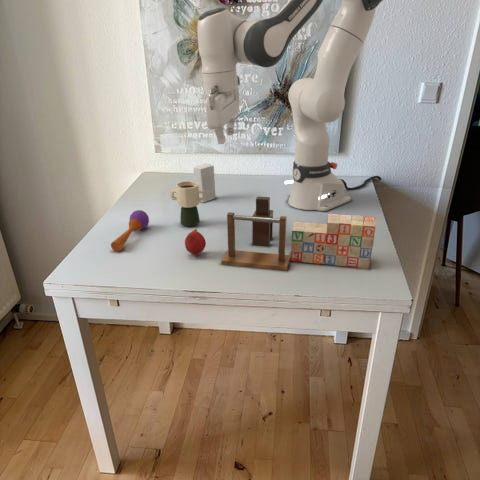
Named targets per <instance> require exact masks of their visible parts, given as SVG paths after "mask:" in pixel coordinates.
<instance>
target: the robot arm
mask: <svg viewBox="0 0 480 480" xmlns="http://www.w3.org/2000/svg"><path fill="white" fill-rule="evenodd" d="M324 1H325V0H288V1H287V2H286V3H285V4H284V5H283V7H282V8H281V9H280V10H279V11H278V12H277V13H276V14H275V15H273V16H272V17H269V18H263V19H259V20H247V19H244V18H241V17H239V16H237V15H235V14H234V13H232V12H231V11H229V9H228V8H227V7H217V8H213V9H209V10H207V11H205V12H203V13H202V14H200V15H199V17H198V19H197V26H196V28H197V29H196V30H197V31H196V32H197V34H196V35H197V44H198V54H199V57H200V59H201V77H202V85H203V92H204V93H205V94H208V96H206V98H205V116H206V125H207V128H208V129H209V130H214V133H215V136H216V138H217V139H216V140H217V144H218V145H224V144H225V143H226V135H227V136H233V135H234V134H235V120H236V119H235V117H236V116H237V115H238V114H239V112H240V91H239V90H240V89H239V86H240V85H241V79H240V78H241V77H240V76H239V75H238V74H237V73H238V72H237V64H241V65H249V66H250V65H251V66H256V67H257V66H258V67H262V68H271V67H274V66H276V65H277V64H279V62H280V61H281V60H282V58H283V57H284V55H285V53H286V51H287V49H288V46H289V45H290V43H291V41H292V40H293V38H294V37H295V36H296V35H297V34H298V32H299V31H300V30H301V29H302V28H303V27H304V25H306V23H307V22H308V21H309V20H310V19H311V18H312V16H313V15H314V14H315V13H316V12H317V10H318V9H319V8H320V6H321V5H322V3H323V2H324ZM382 1H383V0H342V1H341V6H340V8H339V9H338V11H337V13H336V14H335V17H334V18H333V20H332V22H331V24H330V26H329V28H328V30H327V32H326V35H325V37H324V38H323V41H322V43H321V45H320V48H319V49H318V52H317V64H316V70H315V73H314V77H304V78H299V79H297V80H295V81H294V82H293V83H292V84H291V86H290V88H289V90H288V93H287V95H288V96H287V97H288V102H289V104H290V107H291V114H292V119H293V120H292V121H293V129H294V139H295V140H294V141H295V142H294V161H293V163H292V179H290V180H285V181H284V184H285V185H288V184H289V185H290V184H291V189H290V194H289V198H288V201H287V203H288V205H289V206H291V207H292V208H295V209H298V210H303V211H304V210H305V211H319V212H327V211H330V210H332V209H334V208H337V207H339V206H341V205H344V204H347V203H348V202H351V200H352V199H351V196H350V195H349V194H347V193H346V192H345V190H347V191H354V190H358V189H361V188H363V187H365V186H366V185H367V183H368V182H369V181H370V182H371V181H372V180H374V179H378V180H380V181H381V180H382V178H381V176H379V175H374V176H371V177H369V178H367V179H365V180H364V181H363V183H362V184H360V185H357V186H354V187H348V184H347V182H346V181H345V179H342V178H340V177H338V176H337V175H335V174H334V173H333V172H332V170H336V169H337V168H338V162H334V161H331V162H330V161H329V153H330V143H331V142H330V140H331V139H330V135H329V132H328V128H327V123H328V124H329V123H333V122H335V121H337V120H338V119H339V118H340V117H341V116H342V114H343V112H344V109H345V106H346V99H345V92H346V91H345V90H346V86H347V82H348V79H349V75H350V72H351V70H352V68H353V65H354V64H355V61H356V59H357V57H358V55H359V53H360V52H361V49H362V47H363V44H365V41H366V38H367V37H368V34H369V32H370V29H371V27H372V24H373V21H374V18H375V14H376V11H377V7H378V6H379V5H380V4H381V3H382ZM224 126H226V129H224ZM224 130H226V135H225V132H224Z"/></svg>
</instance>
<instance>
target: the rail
mask: <svg viewBox="0 0 480 480" xmlns="http://www.w3.org/2000/svg"><path fill="white" fill-rule="evenodd" d="M235 220H236V221H244V222H245V221H246V222H252V221H257V222H270V223H273V224H278V226H279V227H278V253H271V252H269V253H268V252H260V251H259V252H257V251H248V250H236V227H235V226H236V225H235V223H236V222H235ZM226 223H227V225H226V226H227V251H226V252H225V254H224V256H223V257H222V259H221V265H223V266H224V265H226V266H234V267H245V268H255V269H265V270H274V271H286V272H288V268H289V265H290V262H291V254H286V245H287V216H281V215H280V217H279V218H277V217H273V218H266V217H253V215H239V214H235V212H231V211H228V212H227V214H226Z"/></svg>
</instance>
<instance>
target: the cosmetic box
mask: <svg viewBox="0 0 480 480" xmlns="http://www.w3.org/2000/svg"><path fill="white" fill-rule="evenodd" d="M193 176H194V177H193V179H194V182H197V183H198V185H199V190H204V191H205V200H204V201H200V202H199V203H203V204H204V203H206V202H209V201H211V200H215V199H216V183H215V182H216V180H215V166H214V165H213V164H210V163H206V162H205V163H202V164H199V165H195V166H193ZM199 198H202V193H199Z"/></svg>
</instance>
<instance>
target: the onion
mask: <svg viewBox="0 0 480 480" xmlns="http://www.w3.org/2000/svg"><path fill="white" fill-rule="evenodd" d="M206 246H207V243H206V238H205V237H204V235H203V234H202V233H200V232H199V231H198V229H197V228H193V229H192V231H191V232H189V233H188V234H187V236H186V237H185V239H184V247H185V249H186V251H187V253H190V254H191V255H194V256H199V254H201V253H202V252H203V251H205V248H206Z"/></svg>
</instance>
